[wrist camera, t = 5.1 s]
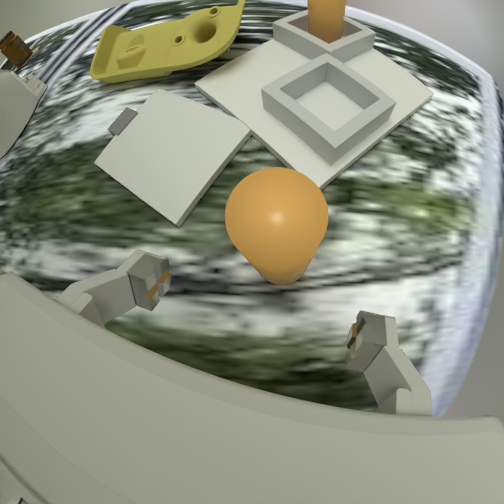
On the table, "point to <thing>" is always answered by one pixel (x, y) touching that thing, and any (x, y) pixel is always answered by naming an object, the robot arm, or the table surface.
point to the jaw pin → (277, 222)
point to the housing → (316, 91)
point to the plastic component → (165, 45)
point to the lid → (171, 151)
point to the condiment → (16, 50)
